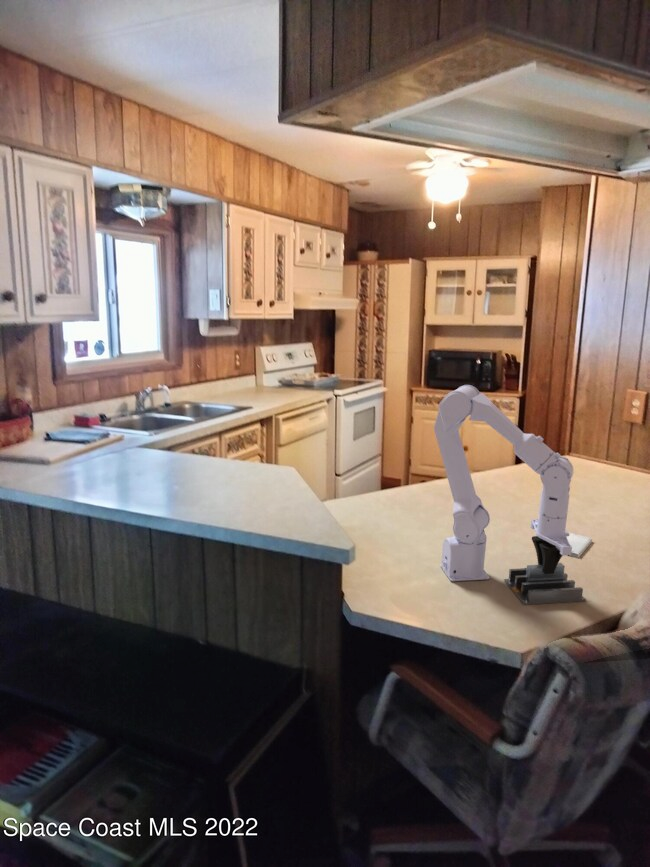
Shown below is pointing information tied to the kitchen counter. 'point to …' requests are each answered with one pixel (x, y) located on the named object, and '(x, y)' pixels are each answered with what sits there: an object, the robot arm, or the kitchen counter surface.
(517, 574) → the slot rack
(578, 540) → the hard drive
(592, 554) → the kitchen counter surface
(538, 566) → the panel
